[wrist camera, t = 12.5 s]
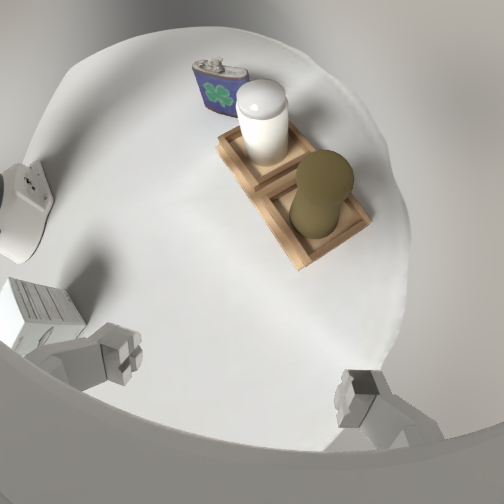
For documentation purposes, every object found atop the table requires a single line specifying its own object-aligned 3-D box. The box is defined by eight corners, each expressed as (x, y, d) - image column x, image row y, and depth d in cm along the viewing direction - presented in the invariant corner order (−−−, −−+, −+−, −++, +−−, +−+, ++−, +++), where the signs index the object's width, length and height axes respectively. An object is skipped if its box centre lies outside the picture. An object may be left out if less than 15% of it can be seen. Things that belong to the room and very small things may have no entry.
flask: (257, 111, 38) (249, 59, 28) (247, 123, 38) (237, 71, 27) (210, 96, 40) (194, 49, 30) (200, 108, 40) (181, 61, 29)
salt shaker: (238, 145, 35) (224, 91, 25) (272, 127, 35) (268, 71, 25) (260, 174, 34) (251, 120, 23) (296, 154, 34) (299, 98, 24)
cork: (300, 185, 33) (307, 130, 22) (345, 204, 32) (370, 156, 21) (280, 226, 32) (279, 182, 21) (327, 247, 31) (350, 213, 20)
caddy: (217, 151, 37) (212, 139, 34) (281, 118, 37) (280, 105, 34) (298, 272, 32) (300, 268, 29) (369, 226, 32) (376, 218, 29)
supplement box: (66, 354, 32) (5, 358, 20) (46, 317, 34) (-12, 311, 22) (88, 325, 33) (24, 322, 21) (66, 288, 35) (6, 274, 23)
